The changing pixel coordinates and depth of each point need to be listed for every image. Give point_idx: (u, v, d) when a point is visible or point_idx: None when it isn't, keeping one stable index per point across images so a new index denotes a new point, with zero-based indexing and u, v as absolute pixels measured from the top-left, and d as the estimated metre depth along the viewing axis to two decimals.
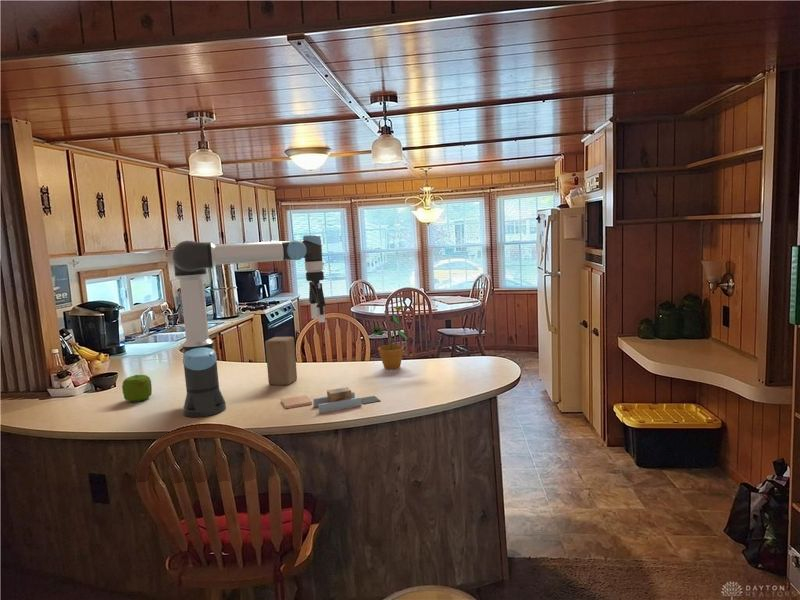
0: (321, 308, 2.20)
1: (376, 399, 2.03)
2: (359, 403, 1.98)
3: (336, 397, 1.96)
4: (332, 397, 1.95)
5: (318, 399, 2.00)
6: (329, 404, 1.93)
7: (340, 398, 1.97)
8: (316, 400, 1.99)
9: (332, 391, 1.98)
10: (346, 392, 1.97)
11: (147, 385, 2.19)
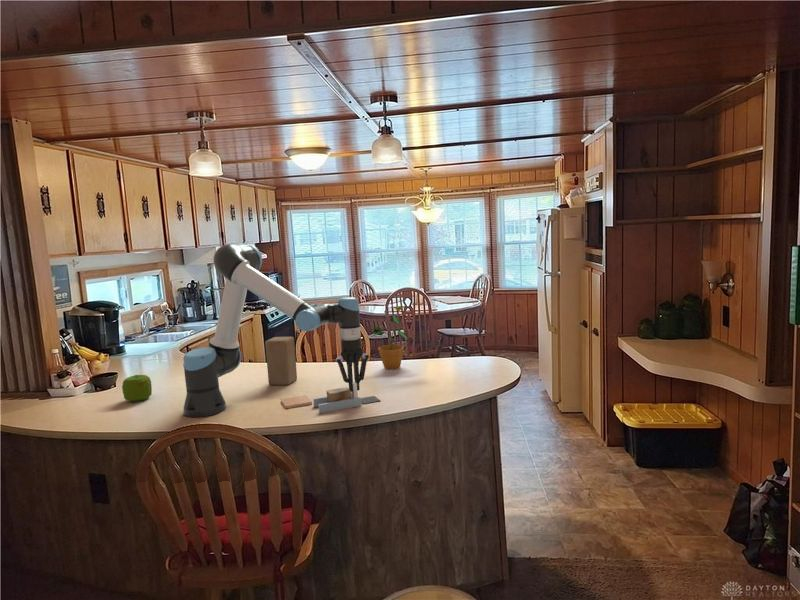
0: (349, 384, 2.00)
1: (376, 399, 2.03)
2: (359, 403, 1.98)
3: (335, 397, 1.96)
4: (332, 397, 1.95)
5: (318, 399, 2.00)
6: (329, 404, 1.93)
7: (340, 398, 1.97)
8: (316, 400, 1.99)
9: (331, 391, 1.98)
10: (345, 392, 1.97)
11: (147, 385, 2.19)
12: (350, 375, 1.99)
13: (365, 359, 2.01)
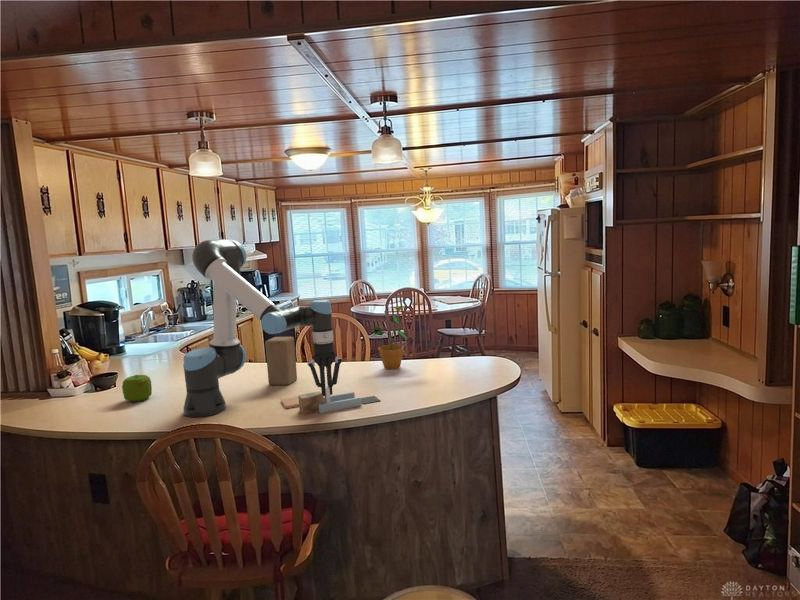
0: (321, 388, 1.96)
1: (376, 399, 2.03)
2: (359, 403, 1.98)
3: (307, 402, 1.92)
4: (304, 402, 1.91)
5: None
6: (329, 404, 1.93)
7: (312, 403, 1.92)
8: None
9: (303, 396, 1.94)
10: (318, 397, 1.93)
11: (147, 385, 2.19)
12: (322, 379, 1.95)
13: (338, 363, 1.97)
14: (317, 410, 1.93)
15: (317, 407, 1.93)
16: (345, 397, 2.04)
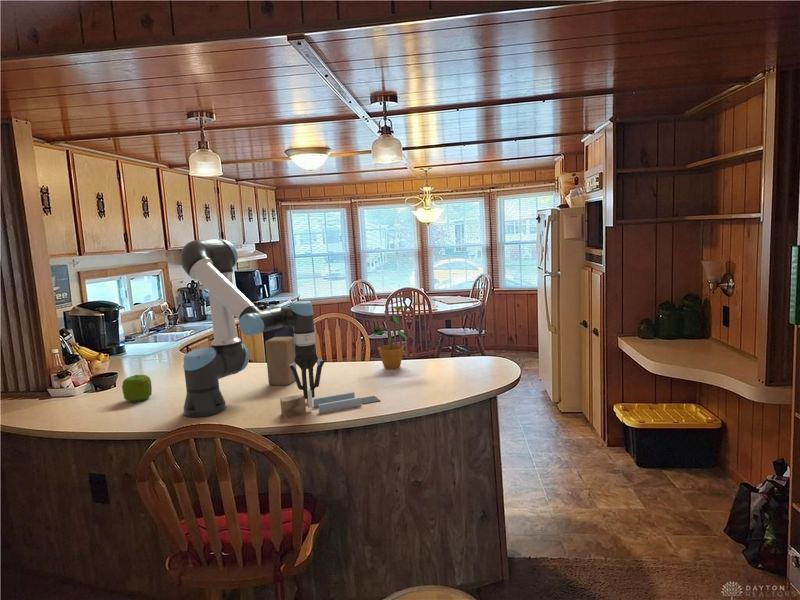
0: (303, 391, 1.94)
1: (376, 399, 2.03)
2: (359, 403, 1.98)
3: (288, 405, 1.89)
4: (285, 405, 1.89)
5: (318, 399, 2.00)
6: (329, 404, 1.93)
7: (293, 406, 1.90)
8: (316, 400, 1.99)
9: (285, 399, 1.91)
10: (299, 400, 1.90)
11: (147, 385, 2.19)
12: (304, 382, 1.92)
13: (320, 365, 1.94)
14: (299, 413, 1.91)
15: (299, 410, 1.91)
16: (345, 397, 2.04)
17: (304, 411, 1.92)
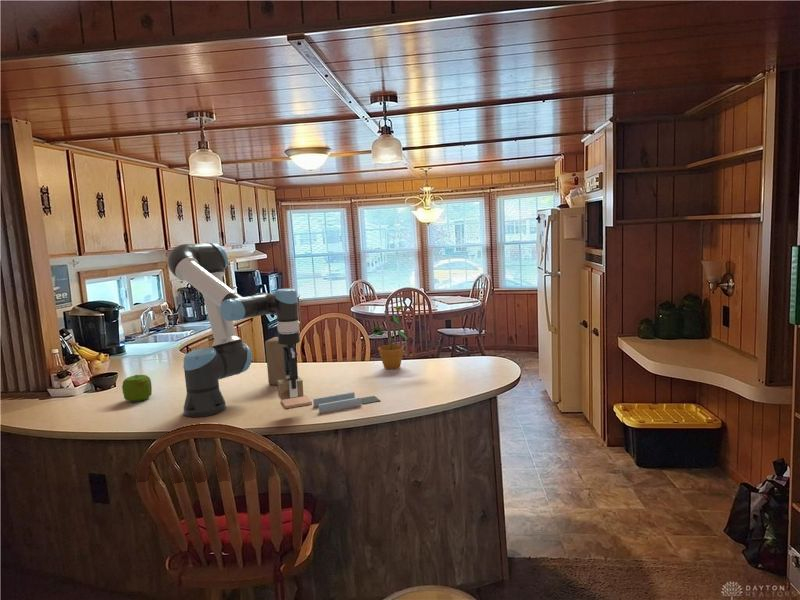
0: (293, 381, 1.88)
1: (376, 399, 2.03)
2: (359, 403, 1.98)
3: (286, 387, 1.89)
4: (282, 387, 1.88)
5: (318, 399, 2.00)
6: (329, 404, 1.93)
7: None
8: (316, 400, 1.99)
9: (282, 381, 1.91)
10: (297, 383, 1.90)
11: (147, 386, 2.19)
12: None
13: None
14: None
15: None
16: (345, 397, 2.04)
17: (301, 394, 1.91)
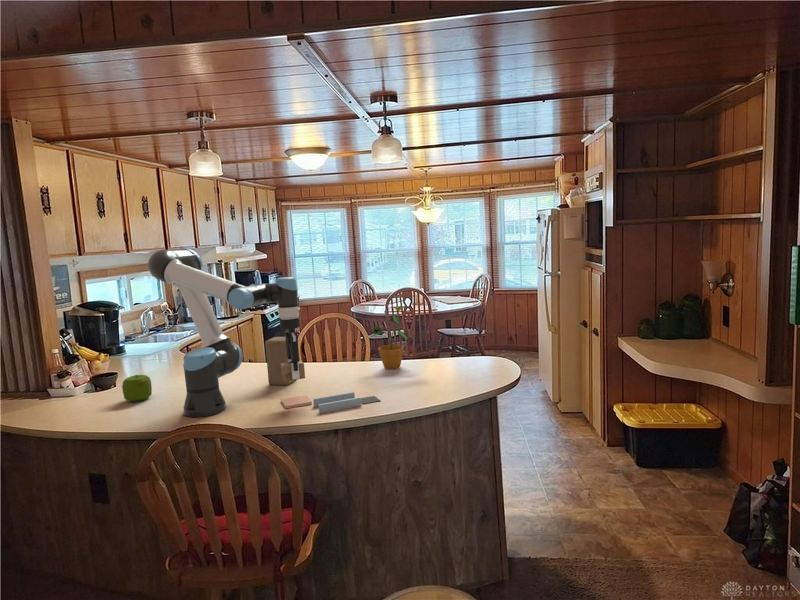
0: (295, 364, 2.00)
1: (376, 399, 2.03)
2: (359, 403, 1.98)
3: (288, 370, 2.01)
4: (285, 370, 2.00)
5: (318, 399, 2.00)
6: (329, 404, 1.93)
7: None
8: (316, 400, 1.99)
9: (285, 364, 2.03)
10: (299, 365, 2.02)
11: (147, 385, 2.19)
12: None
13: None
14: None
15: None
16: (345, 397, 2.04)
17: (303, 375, 2.03)
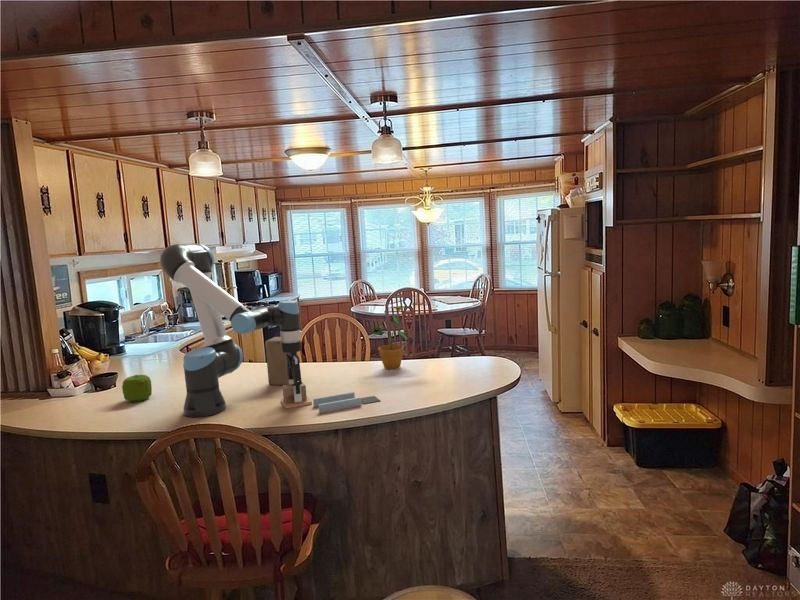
0: (297, 387, 1.99)
1: (376, 399, 2.03)
2: (359, 403, 1.98)
3: (290, 392, 2.02)
4: (287, 392, 2.01)
5: (318, 399, 2.00)
6: (329, 404, 1.93)
7: None
8: (316, 400, 1.99)
9: (287, 386, 2.04)
10: None
11: (147, 385, 2.19)
12: None
13: None
14: None
15: None
16: (345, 397, 2.04)
17: (305, 398, 2.04)
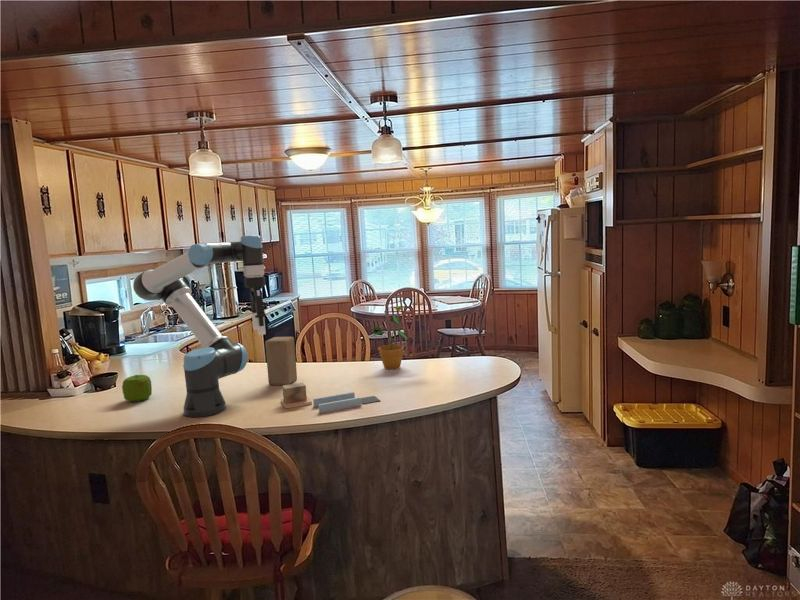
0: (260, 318, 1.94)
1: (376, 399, 2.03)
2: (359, 403, 1.98)
3: (290, 392, 2.02)
4: (287, 392, 2.01)
5: (318, 399, 2.00)
6: (329, 404, 1.93)
7: (295, 393, 2.02)
8: (316, 400, 1.99)
9: (287, 386, 2.04)
10: (300, 387, 2.03)
11: (147, 385, 2.19)
12: None
13: None
14: (300, 400, 2.04)
15: (300, 397, 2.03)
16: (345, 397, 2.04)
17: (305, 398, 2.04)
